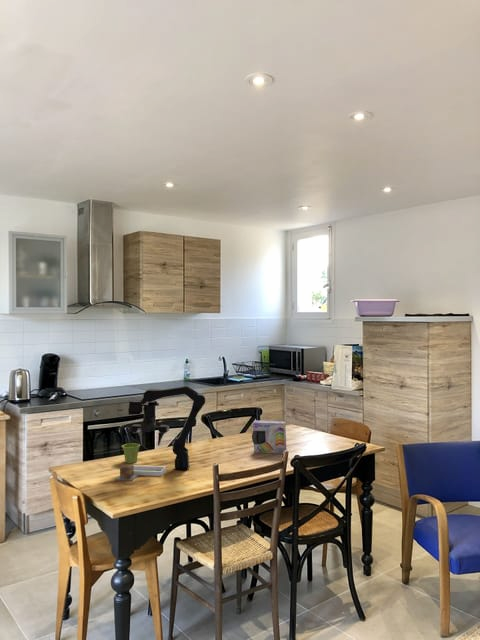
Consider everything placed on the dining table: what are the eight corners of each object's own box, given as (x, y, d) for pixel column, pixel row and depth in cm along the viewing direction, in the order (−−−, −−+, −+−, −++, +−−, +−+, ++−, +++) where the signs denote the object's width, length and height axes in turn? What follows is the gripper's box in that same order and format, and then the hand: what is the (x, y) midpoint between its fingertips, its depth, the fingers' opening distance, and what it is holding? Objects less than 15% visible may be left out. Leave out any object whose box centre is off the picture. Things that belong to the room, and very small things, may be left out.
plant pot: (122, 464, 269) (122, 448, 269) (121, 460, 278) (121, 443, 278) (140, 463, 272) (140, 446, 272) (139, 458, 281) (139, 442, 281)
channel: (166, 470, 259) (166, 466, 259) (161, 475, 249) (161, 471, 249) (133, 469, 260) (133, 465, 260) (128, 474, 251) (128, 470, 251)
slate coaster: (137, 475, 250) (137, 474, 250) (132, 480, 242) (132, 479, 242) (121, 475, 251) (121, 474, 251) (115, 480, 243) (115, 479, 243)
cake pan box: (251, 452, 293) (251, 421, 293) (254, 450, 298) (253, 419, 298) (284, 454, 288) (284, 423, 288) (286, 452, 293) (286, 421, 293)
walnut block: (133, 475, 249) (133, 464, 249) (130, 478, 244) (130, 467, 244) (123, 475, 249) (123, 464, 249) (120, 478, 244) (119, 467, 244)
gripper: (126, 417, 253) (126, 449, 253) (163, 417, 251) (163, 450, 251) (133, 413, 264) (133, 443, 264) (169, 413, 262) (169, 444, 262)
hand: (149, 445), depth 260 cm, fingers open, 9 cm apart
